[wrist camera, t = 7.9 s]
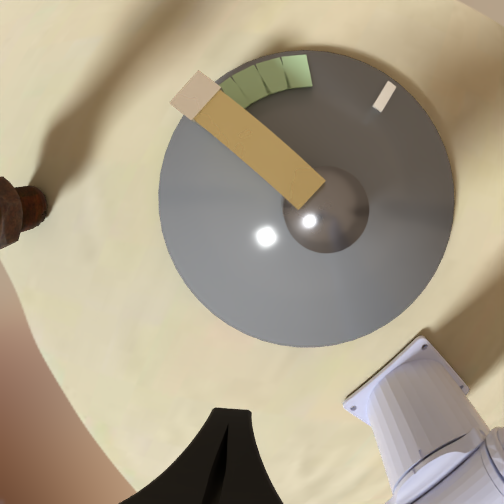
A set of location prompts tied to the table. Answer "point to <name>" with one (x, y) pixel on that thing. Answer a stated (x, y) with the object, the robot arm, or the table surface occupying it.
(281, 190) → the peg lever
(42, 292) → the table surface
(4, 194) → the bolt
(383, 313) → the dial plate
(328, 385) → the table surface
